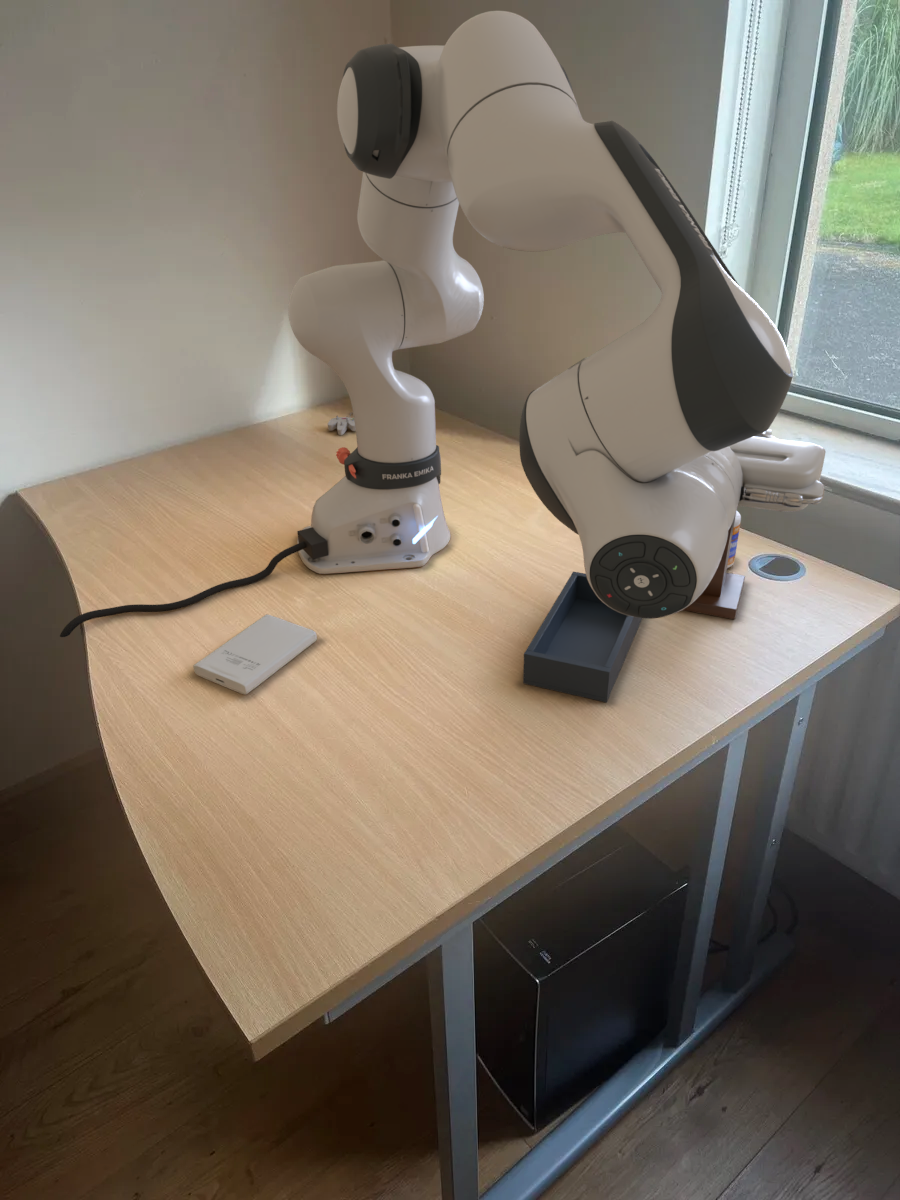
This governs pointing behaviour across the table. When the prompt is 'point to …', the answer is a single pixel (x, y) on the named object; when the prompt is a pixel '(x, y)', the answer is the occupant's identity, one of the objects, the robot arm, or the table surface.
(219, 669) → the hard drive
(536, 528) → the table surface
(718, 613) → the stand
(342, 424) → the game controller
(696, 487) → the robot arm
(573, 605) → the bin
